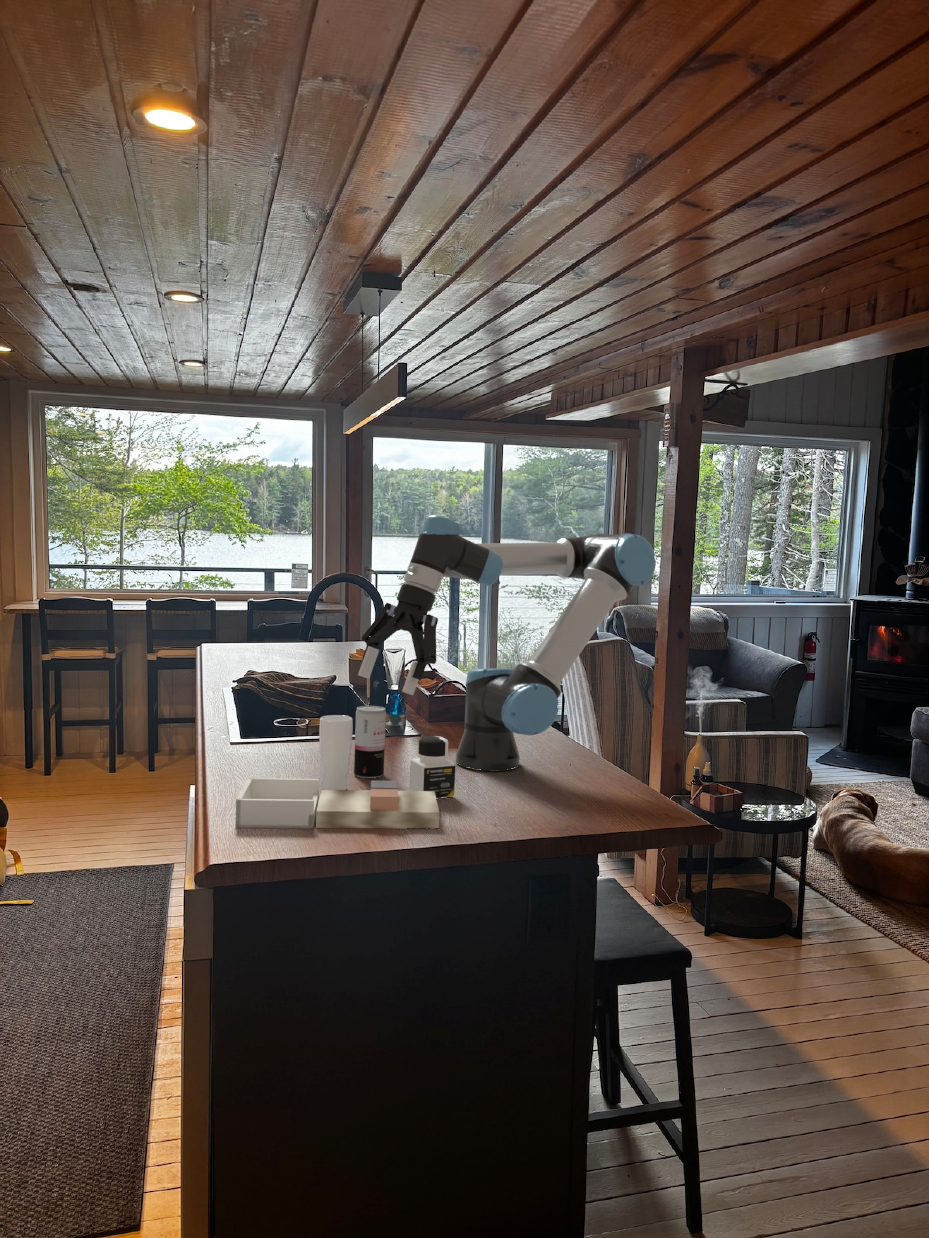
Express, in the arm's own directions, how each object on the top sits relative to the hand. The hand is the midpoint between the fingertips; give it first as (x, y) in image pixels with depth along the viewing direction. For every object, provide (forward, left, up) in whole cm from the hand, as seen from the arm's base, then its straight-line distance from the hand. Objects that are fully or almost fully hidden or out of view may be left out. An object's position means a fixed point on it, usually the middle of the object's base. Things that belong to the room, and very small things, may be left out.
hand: (384, 685), depth 180 cm
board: (+1, +17, -22) cm, 28 cm away
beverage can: (+3, -13, -22) cm, 26 cm away
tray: (+19, +17, -22) cm, 34 cm away
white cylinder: (+10, -1, -22) cm, 24 cm away
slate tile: (0, +15, -19) cm, 24 cm away
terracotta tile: (0, +21, -19) cm, 28 cm away
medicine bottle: (-10, +2, -22) cm, 25 cm away
